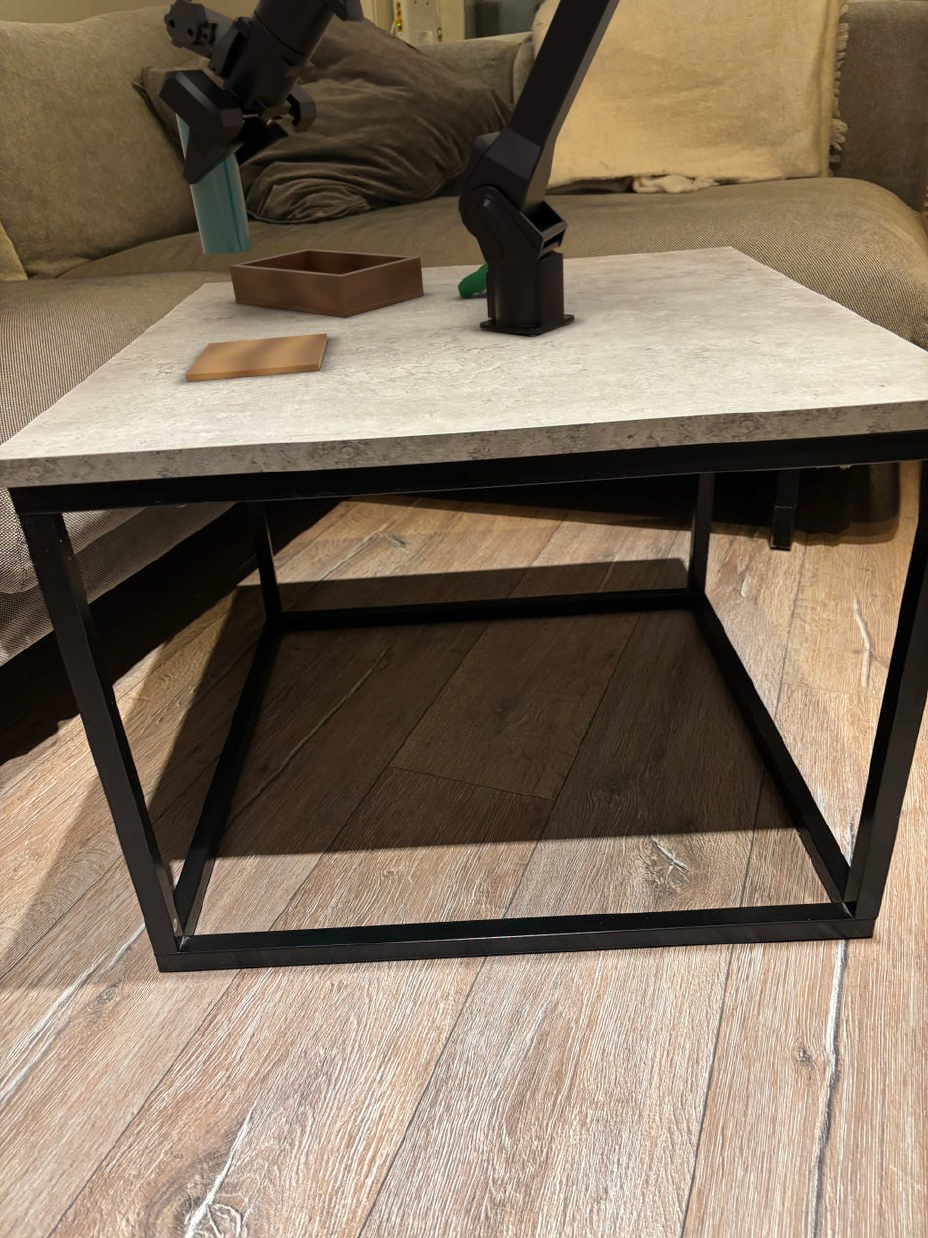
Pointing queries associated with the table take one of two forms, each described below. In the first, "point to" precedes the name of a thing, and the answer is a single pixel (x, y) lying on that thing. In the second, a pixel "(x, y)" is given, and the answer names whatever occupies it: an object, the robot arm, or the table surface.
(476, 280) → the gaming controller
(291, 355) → the mat
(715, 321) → the table surface
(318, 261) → the basket
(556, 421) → the table surface
